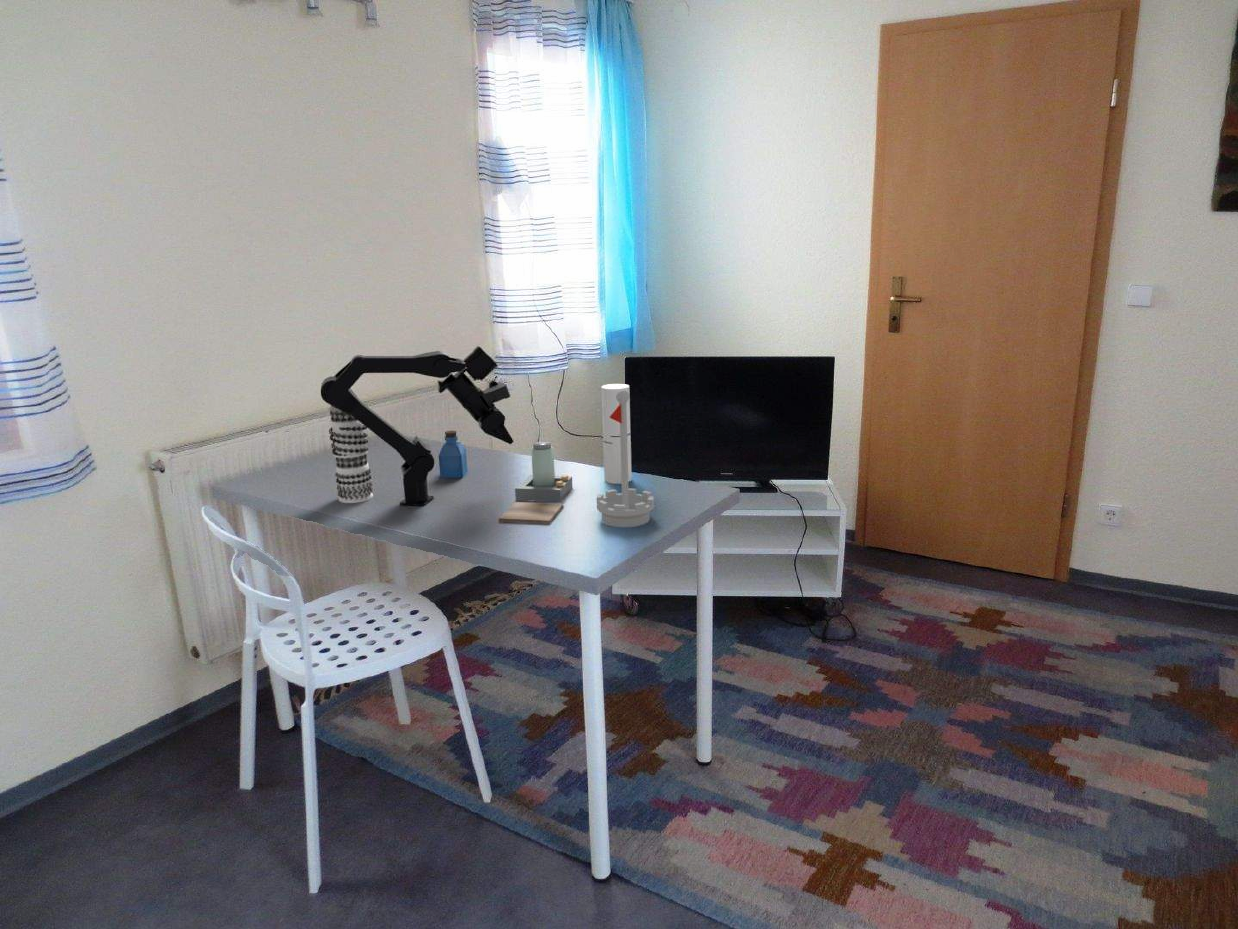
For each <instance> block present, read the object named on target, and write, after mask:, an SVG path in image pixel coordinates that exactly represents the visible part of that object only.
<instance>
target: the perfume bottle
mask: <svg viewBox="0 0 1238 929" xmlns="http://www.w3.org/2000/svg"><path fill="white" fill-rule="evenodd" d="M444 434H445V435H444V442H445V443H444V444H443V445H442V446H441V449H440V452H439V454H438V465H439V474H440V475H439V477H440V478H441V479H444V478H445V479H447V478H448V479H449V478H452V479H453V478H464V477H465V476H466V474H467V473H468V461H467V449H466V448H465V447H464V446H465V445H463V444H462V442H461V441H458V435H457V430H446V431H444Z"/></svg>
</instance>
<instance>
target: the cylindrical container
mask: <svg viewBox="0 0 1238 929" xmlns="http://www.w3.org/2000/svg"><path fill="white" fill-rule="evenodd" d="M620 390H625V391H627V392H628V393H629V400H628V401H627V402H626V412H627V452H628V483H630V482H631V481H632V447H631V446H632V442H631V438H632V437H631V408H630V407H631V404H630V403H631V402H630V401H631V398H630V397H631V396H630V395H631V394H630V385H629V384H625V383H608V384H604V385H602V386H601V408H602V409H601V412H602V413H601V414H602V417H601V418H602V439H603V440H602V443H603V447H602V448H603V475H604V482H605V481H606V482H605V483H608V484H614V485H615V484H616V485H620V484H621V485H622V480H621V443H620V423H619V422H617V421H615V420H613V419H611V418H609V417H610V416H611V415H612V413H613V412H614V411H615V410H616V409H617V407H618V406H619V402H618V401H617V399H616V394H617V393H618V391H620ZM629 481H630V482H629Z"/></svg>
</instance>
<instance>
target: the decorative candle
mask: <svg viewBox="0 0 1238 929" xmlns="http://www.w3.org/2000/svg"><path fill="white" fill-rule="evenodd" d="M327 409H328V410H329V412H330V413H329V416H330V421H329V422H330V428H329V430H328V434H329V440H330V441H331V442H332V443H331V445H330V447H331V448H332V449H331V450H332V452H331V454H332V455H333V457H335V463H336V465H335V471H336V472H335V475H334V476H335V477H336V479H335V482H336V483H337V485H336V490H337V496H338V501H339V502H340V503H344V504H356V503H362V502H367V501H369V500H371V499H372V498H374V494H373V491H374V489H373V487H372V486H373V482H372V481H371V479H372V475H370V474H371V471H372V470H371V469H370V468H369V467H370V466H369V462H368V456H367V454H368V453H369V447H367V446H366V444H368V443H369V440H368V439H366V438H367V437H368V434H367V433H366V432H364V431H365V430H367V429H368V428H367V427H366V426H365V425H363V424H362V423H361V422H360V421H358V420H357V419H356V418H354V417H353V416H352V415H350V414H348V413H346V412H344V411H341V410H339V409H337V408H335V407H333V406H332V405H330V406H329V407H328V408H327Z"/></svg>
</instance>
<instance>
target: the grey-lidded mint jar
mask: <svg viewBox="0 0 1238 929" xmlns="http://www.w3.org/2000/svg"><path fill="white" fill-rule="evenodd" d="M530 451H531V468H532V470H531V471H532V475H533V487H555V476H556V474H555V473H556V472H555V454H554V452H555V451H554V446H552V443H551V442H550V441H538V442H534V443H533V444H532V446H531V448H530Z"/></svg>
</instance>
